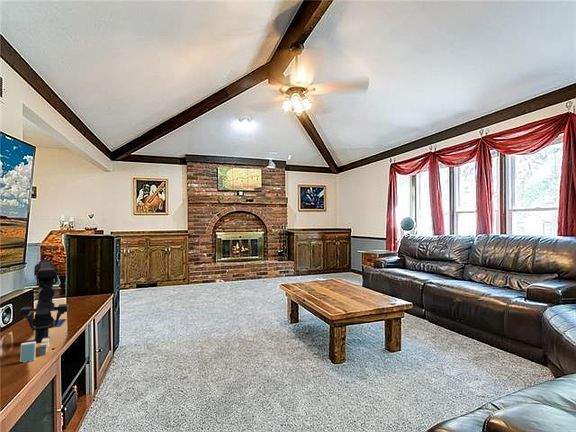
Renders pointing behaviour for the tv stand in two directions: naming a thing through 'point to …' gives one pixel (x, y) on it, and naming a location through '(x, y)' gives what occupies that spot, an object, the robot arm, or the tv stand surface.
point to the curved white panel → (43, 347)
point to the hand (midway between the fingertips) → (44, 327)
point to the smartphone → (59, 322)
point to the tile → (28, 351)
